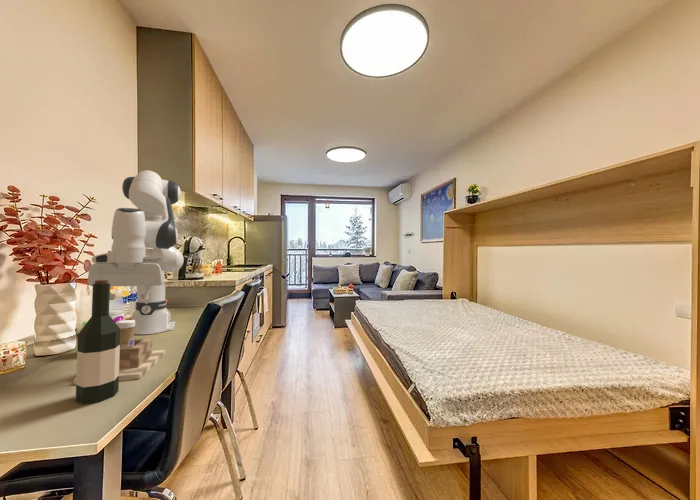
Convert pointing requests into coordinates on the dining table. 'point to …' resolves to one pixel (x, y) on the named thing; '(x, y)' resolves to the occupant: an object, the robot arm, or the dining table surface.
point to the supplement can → (116, 315)
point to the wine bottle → (98, 351)
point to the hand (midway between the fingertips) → (127, 299)
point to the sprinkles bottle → (126, 333)
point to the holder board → (138, 370)
